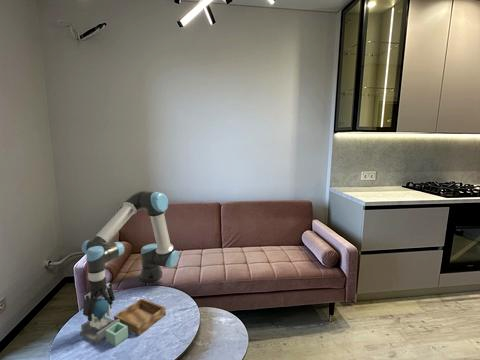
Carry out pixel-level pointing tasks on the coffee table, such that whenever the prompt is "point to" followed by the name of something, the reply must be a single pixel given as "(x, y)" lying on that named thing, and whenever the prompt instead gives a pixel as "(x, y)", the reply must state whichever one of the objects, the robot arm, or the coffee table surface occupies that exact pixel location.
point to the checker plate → (101, 324)
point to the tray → (141, 316)
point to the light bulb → (100, 308)
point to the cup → (116, 334)
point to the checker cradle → (95, 331)
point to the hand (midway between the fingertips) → (100, 320)
